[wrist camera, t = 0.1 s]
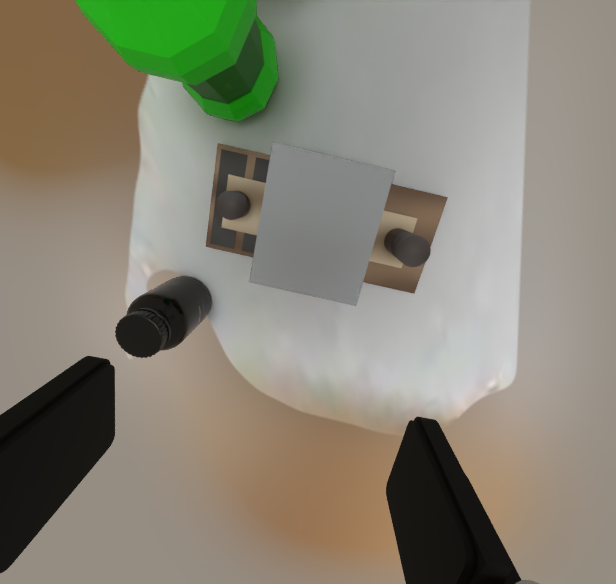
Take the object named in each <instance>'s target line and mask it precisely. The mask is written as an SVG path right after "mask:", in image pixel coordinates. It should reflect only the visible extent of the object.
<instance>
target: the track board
mask: <svg viewBox="0 0 616 584" xmlns="http://www.w3.org/2000/svg"><path fill="white" fill-rule="evenodd" d="M269 161H270V155H265V154H261V153H257V152H253V151H249V150H244V149H240V148H236V147H232V146H227V145H223V144H219V143H218V147H217V156H216V164H215V173H214V181H213V190H212V198H211V207H210V215H209V224H208V232H207V240H206V247H210V248H214V249H219V250H223V251H228V252H232V253H237V254H241V255H245V256H250V257H253V256H254V250H255V244H256V238H257V235H253V234H248V233H244V232H239V231H235V230H231V229H226V228H222V220H223V217H222V216H221V215H220V213H219V212H218V210H217V206H216V202H217V198H218V197H219V195H220V194H221V193H223V192H224V191H226V189H227V182H228V174H229V175H234V176H238V177H242V178H246V179H251V180H255V181H259V182H264V183H266V179H267V173H268V167H269ZM447 198H448V197H443V196H439V195H435V194H431V193H426V192H422V191H418V190H414V189H409V188H405V187H401V186H397V185H393V184H391V187H390V190H389V194H388V197H387V201H386V204H385V208H384V211H388V212H392V213H397V214H401V215H405V216H409V217H414V218H418V219H417V222H416V225H415V228H414V231H413V234H416V235H418V236H420V237H423V238H424V239H426V240H427V241H428V243H429V245H430V247H431V244H432V241H433V238H434V235H435V232H436V229H437V227H438V224H439V221H440V218H441V215H442V212H443V209H444V206H445V204H446V201H447ZM424 264H425V263H424ZM424 264H422V265H420V266H418V267H408V266H406V265H404V264H403V265H402V268H398V267H393V266H389V265H385V264H380V263H376V262H371V261H369V263H368V266H367V270H366V273H365V277H364V280H363V282H365V283H370V284H374V285H379V286H383V287H388V288H392V289H397V290H401V291H405V292H410V293H415V290H416V287H417V284H418V281H419V278H420V275H421V273H422V270H423V267H424Z"/></svg>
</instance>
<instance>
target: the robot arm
mask: <svg viewBox="0 0 616 584" xmlns="http://www.w3.org/2000/svg"><path fill="white" fill-rule="evenodd" d="M114 436H115V369H114V366H112V365H110V361H109V360H107V359H103V358H97V357H92V356H86V357H84V358H83V359H81V360H80V361H78V362H77V363H75V364H74V365H73V366H71V367H70V368H68V369H67V370H65V371H64V372H62V373H61V374H59V375H58V376H57V377H55V378H54V379H52V380H51V381H49V382H48V383H46V384H45V385H44V386H42V387H41V388H39V389H38V390H36V391H35V392H33V393H32V394H30V395H29V396H28V397H26V398H25V399H23V400H22V401H20V402H19V403H17V404H16V405H14V406H13V407H12V408H10V409H9V410H7V411H6V412H4V413H3V414H1V415H0V573H2V572H4V571H5V570H7V569H8V568H9V567H10V565H12V563H13V562H14V561H15V560H16V559H17V558H18V556H19V555H20V554H21V553H22V552H23V550H24V549H25V548H26V547H27V545H28V544H29V543H30V542H31V541H32V540H33V538H34V537H35V536H36V535H37V534H38V532H39V531H40V530H41V529H42V527H43V526H44V525H45V524H46V523H47V522H48V520H49V519H50V518H51V517H52V516H53V514H54V513H55V512H56V511H57V510H58V508H59V507H60V506H61V505H62V504H63V502H64V501H65V500H66V499H67V498H68V496H69V495H70V494H71V493H72V492H73V490H74V489H75V488H76V487H77V486H78V484H79V483H80V482H81V481H82V480H83V478H84V477H85V476H86V475H87V473H88V472H89V471H90V470H91V469H92V468H93V466H94V465H95V464H96V463H97V462H98V460H99V459H100V458H101V457H102V456H103V454H104V453H105V452H106V450H107V449H108V448H109V447H110V446H111V444H112V442H113V440H114ZM386 495H387V500H388V505H389V510H390V514H391V518H392V523H393V527H394V532H395V536H396V541H397V545H398V550H399V554H400V559H401V563H402V568H403V572H404V577H405V581H406V584H539V583H536V582H534V581H530V580H521V578H520V577H519V575H518V573H517V571H516V569H515V567H514V565H513V563H512V561H511V559H510V558H509V556H508V554H507V552H506V550H505V548H504V546H503V544H502V542H501V540H500V538H499V536H498V535H497V533H496V531H495V529H494V527H493V525H492V523H491V521H490V519H489V517H488V515H487V514H486V512H485V510H484V508H483V506H482V504H481V502H480V500H479V498H478V497H477V494H476V493H475V491H474V489H473V487H472V485H471V483H470V481H469V479H468V478H467V476H466V475H465V473H464V472H463V470H462V468H461V466H460V464H459V462H458V460H457V458H456V457H455V454H454V452H453V451H452V448H451V447H450V445H449V443H448V441H447V439H446V437H445V435H444V433H443V431H442V429H441V427H440V425H439V424H438V422H437V421H436V420H433V419H428V418H422V417H416V418H415V420H414V421H412V420H411V421H409V423H408V426H407V428H406V431H405V434H404V437H403V440H402V442H401V445H400V448H399V451H398V454H397V457H396V459H395V462H394V465H393V468H392V471H391V474H390V476H389V479H388V482H387V487H386Z"/></svg>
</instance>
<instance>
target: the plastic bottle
mask: <svg viewBox="0 0 616 584" xmlns="http://www.w3.org/2000/svg"><path fill="white" fill-rule="evenodd" d="M75 1H76V2H77V4H78V6H79V8H80V9H81V11H82V13H83V15H84V16H85V17H86V18H87V19H88V20H89V21H90V22H91V23H92V25H93V26H94V27H95V28H96V29H97V30H98V31H99V32H100V34H101V35H102V36H103V37H104V38H105V39H106V40H107V41H108V43H109V44H110V45H111V46H112V47H113V48H114V49H115V50H116V51H117V53H118V54H119V55H120V56H121V57H122V58H123V59H124V60H125V61H126V63H127V64H129V65H130V66H132V67H133V68H135V69H136V70H138V71H139V72H143V73H147V74H150V75H154V76H159V77H163V78H167V79H171V80H175V81H179V82H182V83H183V87H184V88H185V89H186V90H187V91H188V92H189V94H190V95H191V96H192V97H193V98H194V99H195V101H196V102H197V103H198V104H199V105H200V106H201V107H202V109H203V110H204V111H205V112H206V113H207V114H209V115H211V116H215V117H219V118H223V119H228V120H232V121H236V122H240V121H241V120H243V119H245V118H247V117H249V116H251V115H253V114H255V113H257V112H259V111H261V110H263V109H265V106H266V104H267V102H268V100H269V98H270V96H271V94H272V92H273V90H274V87H275V85H276V83H277V81H278V79H279V78H278V69H277V59H276V50H275V42H274V39H273V36H272V35H271V34H270V32H269V31H268V30H267V28H266V27H265V26H264V25H263V23H262V22H261V21H260V19H259V18H258V17H257V2H256V0H75Z"/></svg>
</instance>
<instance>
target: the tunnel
mask: <svg viewBox="0 0 616 584" xmlns="http://www.w3.org/2000/svg"><path fill="white" fill-rule="evenodd" d="M394 173H395V171H394V170H390V169H385V168H381V167H377V166H373V165H369V164H364V163H360V162H356V161H352V160H348V159H343V158H339V157H335V156H331V155H327V154H322V153H318V152H314V151H310V150H306V149H301V148H297V147H293V146H289V145H285V144H280V143H276V142H273V143H272V149H271V155H270V161H269V167H268V173H267V179H266V185H265V191H264V197H263V202H262V208H261V214H260V220H259V226H258V232H257V238H256V244H255V250H254V256H253V262H252V268H251V274H250V280H249V282H251V283H256V284H260V285H265V286H269V287H274V288H278V289H283V290H287V291H292V292H296V293H301V294H305V295H310V296H314V297H319V298H323V299H328V300H332V301H337V302H341V303H346V304H350V305H355V306H356V304H357V301H358V297H359V294H360V291H361V287H362V284H363V280H364V277H365V273H366V270H367V266H368V263H369V259H370V256H371V252H372V249H373V246H374V242H375V239H376V235H377V232H378V228H379V225H380V221H381V218H382V214H383V211H384V208H385V204H386V201H387V197H388V194H389V190H390V187H391V183H392V180H393V176H394Z"/></svg>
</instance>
